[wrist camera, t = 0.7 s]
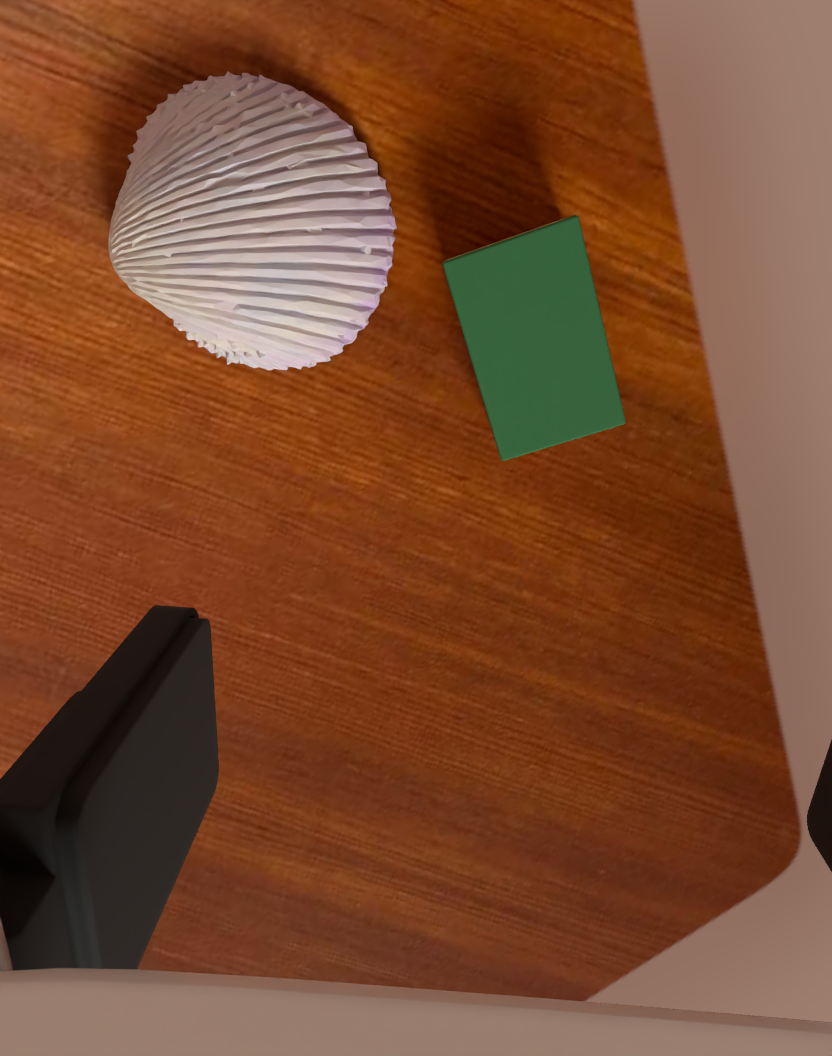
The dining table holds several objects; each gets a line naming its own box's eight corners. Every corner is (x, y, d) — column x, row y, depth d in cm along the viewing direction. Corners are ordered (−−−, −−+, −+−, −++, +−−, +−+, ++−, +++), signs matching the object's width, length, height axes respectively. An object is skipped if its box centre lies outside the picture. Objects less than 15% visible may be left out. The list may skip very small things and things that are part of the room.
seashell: (19, 98, 22) (299, -5, 19) (127, 122, 27) (364, 43, 24) (126, 411, 26) (379, 367, 23) (205, 383, 31) (422, 343, 28)
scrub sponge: (443, 261, 27) (441, 262, 23) (562, 218, 26) (578, 214, 23) (496, 438, 29) (501, 462, 26) (606, 404, 28) (626, 424, 25)
